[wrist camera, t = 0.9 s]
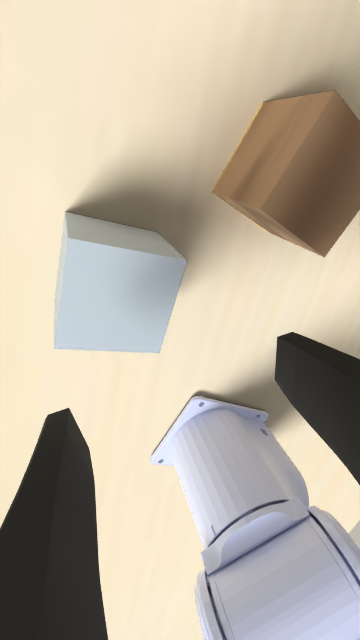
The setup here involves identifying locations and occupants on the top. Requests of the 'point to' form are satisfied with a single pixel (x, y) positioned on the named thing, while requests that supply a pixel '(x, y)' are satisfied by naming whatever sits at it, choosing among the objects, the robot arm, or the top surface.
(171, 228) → the top surface
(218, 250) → the top surface
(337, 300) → the top surface
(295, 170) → the walnut cube
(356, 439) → the robot arm
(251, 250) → the top surface
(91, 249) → the slate-grey cube
